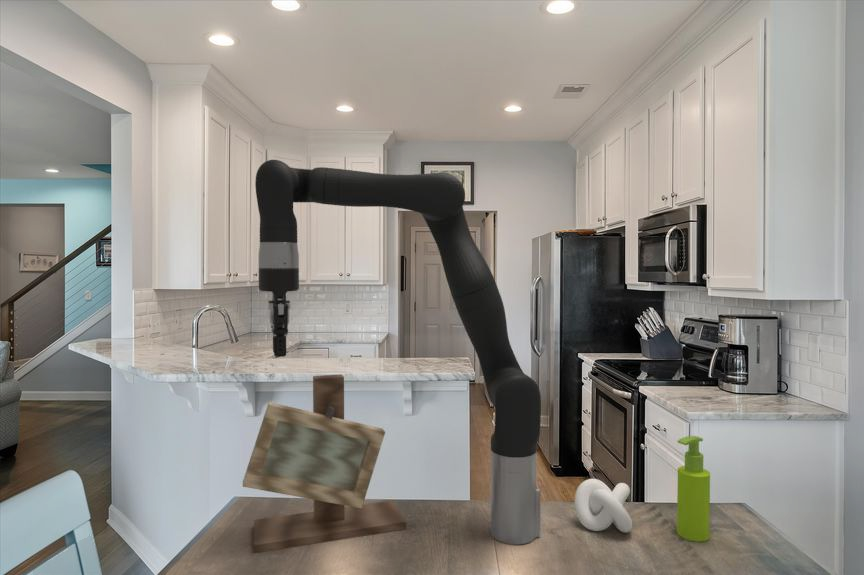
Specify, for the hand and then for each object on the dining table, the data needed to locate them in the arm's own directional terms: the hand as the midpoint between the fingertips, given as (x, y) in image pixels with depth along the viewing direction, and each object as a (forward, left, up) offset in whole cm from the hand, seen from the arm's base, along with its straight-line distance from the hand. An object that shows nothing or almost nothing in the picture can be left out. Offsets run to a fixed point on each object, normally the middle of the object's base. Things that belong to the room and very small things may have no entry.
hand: (279, 354), depth 104 cm
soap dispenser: (-79, +23, -38) cm, 91 cm away
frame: (-4, 0, -28) cm, 29 cm away
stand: (-10, -3, -37) cm, 39 cm away
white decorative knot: (-65, +15, -38) cm, 77 cm away
